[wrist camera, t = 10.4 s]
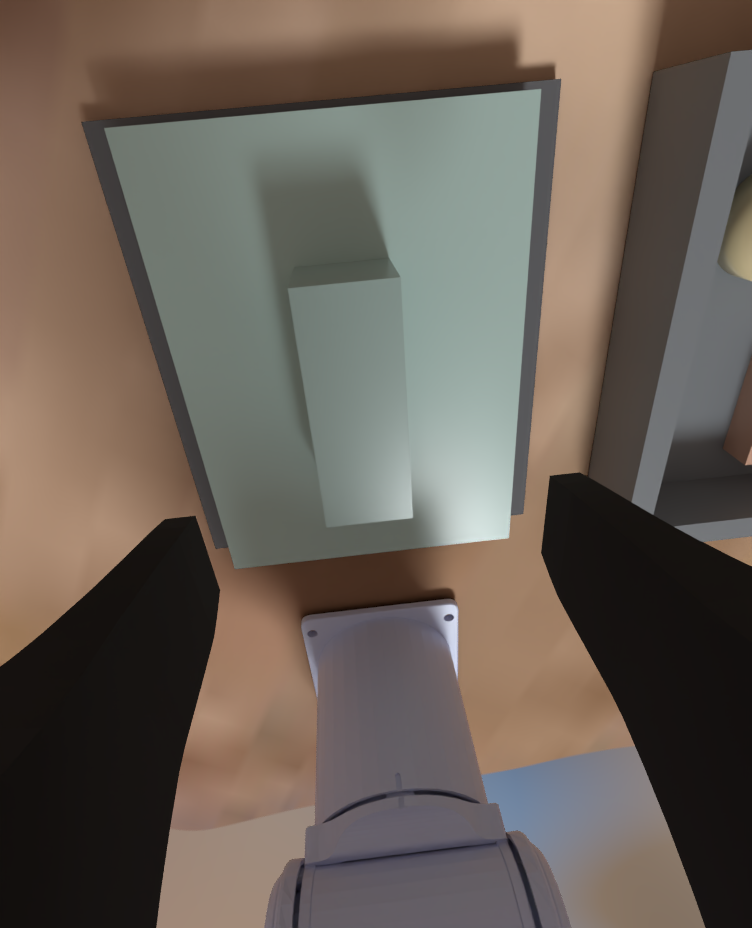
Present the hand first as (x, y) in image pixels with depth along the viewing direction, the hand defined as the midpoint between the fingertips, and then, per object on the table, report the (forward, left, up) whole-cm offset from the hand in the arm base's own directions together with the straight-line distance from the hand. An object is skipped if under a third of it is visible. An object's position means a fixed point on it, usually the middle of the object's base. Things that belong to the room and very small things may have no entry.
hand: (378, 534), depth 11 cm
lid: (0, 0, -10) cm, 10 cm away
